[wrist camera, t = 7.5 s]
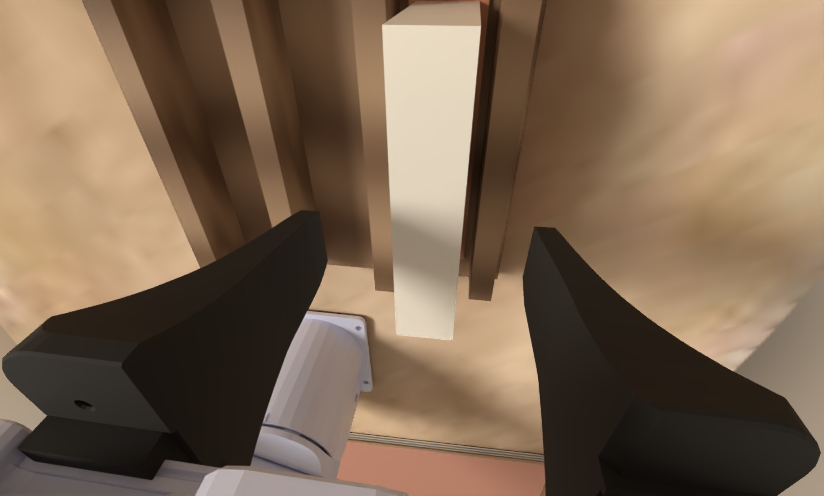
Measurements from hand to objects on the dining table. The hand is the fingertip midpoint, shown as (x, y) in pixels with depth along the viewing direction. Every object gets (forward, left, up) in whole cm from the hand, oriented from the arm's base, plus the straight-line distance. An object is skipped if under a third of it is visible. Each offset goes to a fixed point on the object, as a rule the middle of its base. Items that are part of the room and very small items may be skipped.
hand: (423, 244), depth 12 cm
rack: (0, +5, -9) cm, 11 cm away
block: (0, 0, -8) cm, 8 cm away
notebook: (-40, +1, -10) cm, 42 cm away
